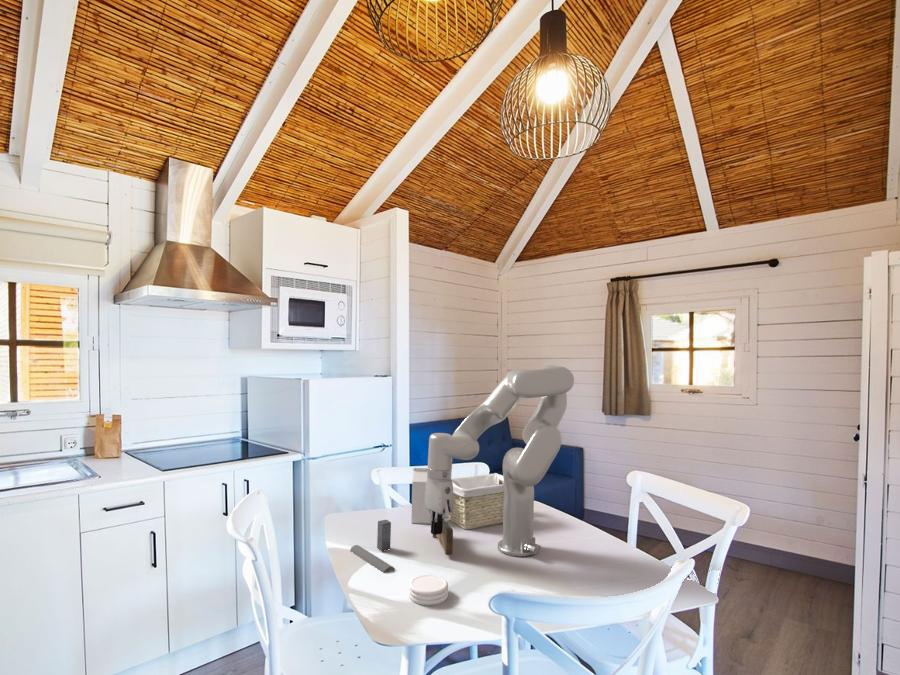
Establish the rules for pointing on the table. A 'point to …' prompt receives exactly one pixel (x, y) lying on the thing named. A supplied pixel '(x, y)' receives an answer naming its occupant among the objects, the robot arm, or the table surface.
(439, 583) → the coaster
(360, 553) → the half round rod
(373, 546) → the table surface
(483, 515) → the storage basket
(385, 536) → the gate posts
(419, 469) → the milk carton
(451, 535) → the wooden board
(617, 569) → the table surface
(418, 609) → the table surface
